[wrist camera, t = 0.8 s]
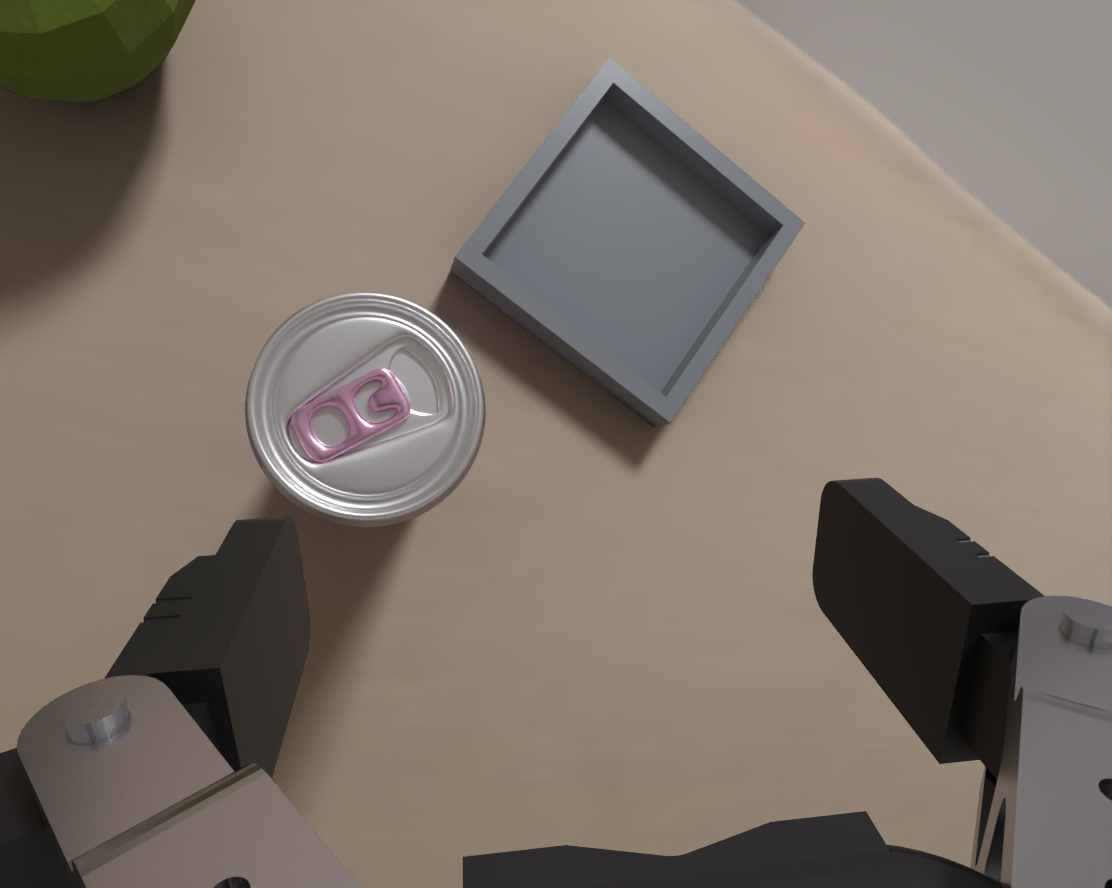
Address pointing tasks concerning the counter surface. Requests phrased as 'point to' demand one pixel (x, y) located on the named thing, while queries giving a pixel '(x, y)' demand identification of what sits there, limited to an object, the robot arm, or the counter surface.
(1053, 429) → the counter surface
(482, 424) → the beverage can
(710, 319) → the tray
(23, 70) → the apple
